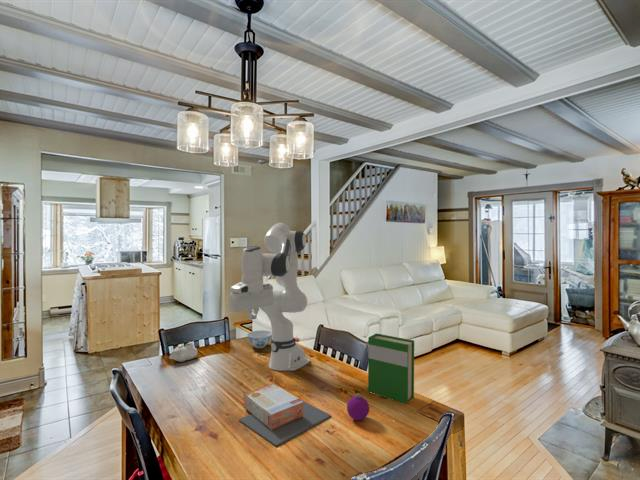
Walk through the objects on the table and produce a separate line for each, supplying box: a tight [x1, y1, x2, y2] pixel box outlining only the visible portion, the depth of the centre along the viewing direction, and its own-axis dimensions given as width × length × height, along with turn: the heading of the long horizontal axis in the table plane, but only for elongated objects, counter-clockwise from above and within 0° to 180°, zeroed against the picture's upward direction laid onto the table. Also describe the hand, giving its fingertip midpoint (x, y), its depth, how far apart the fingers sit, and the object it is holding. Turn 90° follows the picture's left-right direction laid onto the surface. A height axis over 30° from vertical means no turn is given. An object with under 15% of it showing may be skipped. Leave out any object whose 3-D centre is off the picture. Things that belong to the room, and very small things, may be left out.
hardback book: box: [367, 333, 415, 405], centre depth 147 cm, size 18×7×24 cm, turn 54°
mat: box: [238, 399, 332, 448], centre depth 127 cm, size 26×22×1 cm
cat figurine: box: [168, 342, 198, 363], centre depth 186 cm, size 10×8×15 cm
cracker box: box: [243, 383, 304, 430], centre depth 131 cm, size 14×6×21 cm
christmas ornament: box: [346, 393, 370, 421], centre depth 128 cm, size 8×8×10 cm
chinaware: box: [246, 329, 272, 349], centre depth 210 cm, size 15×15×8 cm
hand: (252, 319), depth 143 cm, fingers closed
